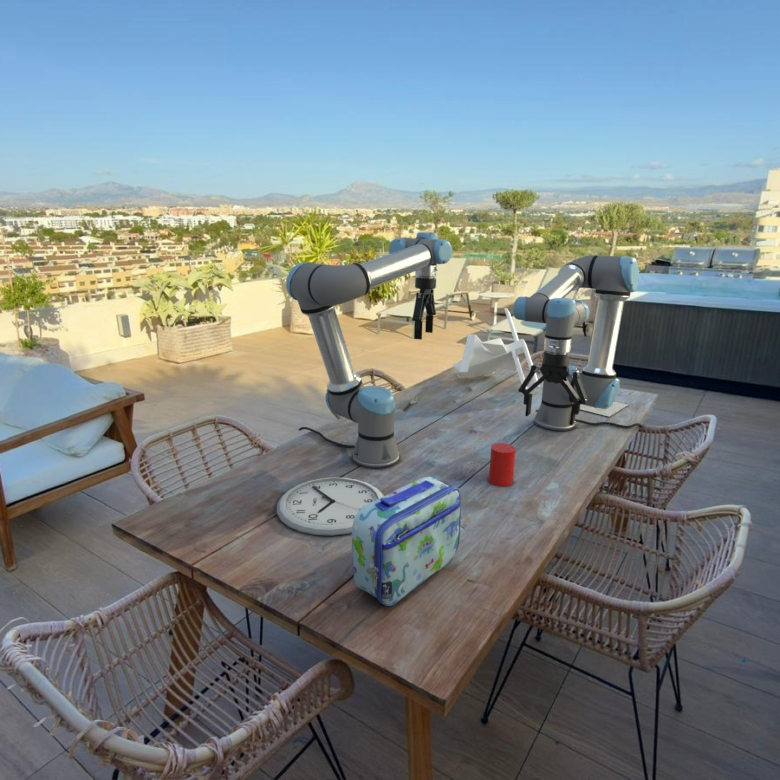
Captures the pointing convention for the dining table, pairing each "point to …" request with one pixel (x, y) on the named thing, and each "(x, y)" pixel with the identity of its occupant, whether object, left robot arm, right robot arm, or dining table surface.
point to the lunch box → (405, 538)
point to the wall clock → (325, 505)
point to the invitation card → (606, 412)
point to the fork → (411, 403)
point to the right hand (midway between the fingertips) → (549, 419)
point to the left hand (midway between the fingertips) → (423, 335)
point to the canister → (502, 464)
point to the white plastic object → (492, 355)
